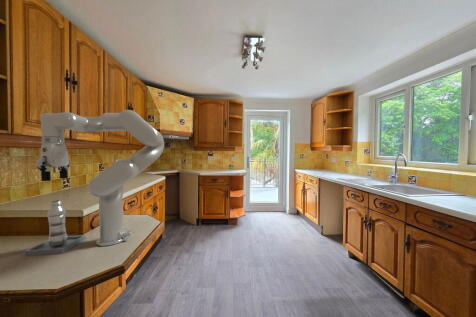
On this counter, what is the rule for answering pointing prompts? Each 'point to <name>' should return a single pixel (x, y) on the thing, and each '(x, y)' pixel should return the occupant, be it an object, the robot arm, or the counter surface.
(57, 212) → the plastic bottle
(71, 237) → the slate tray
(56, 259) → the counter surface
